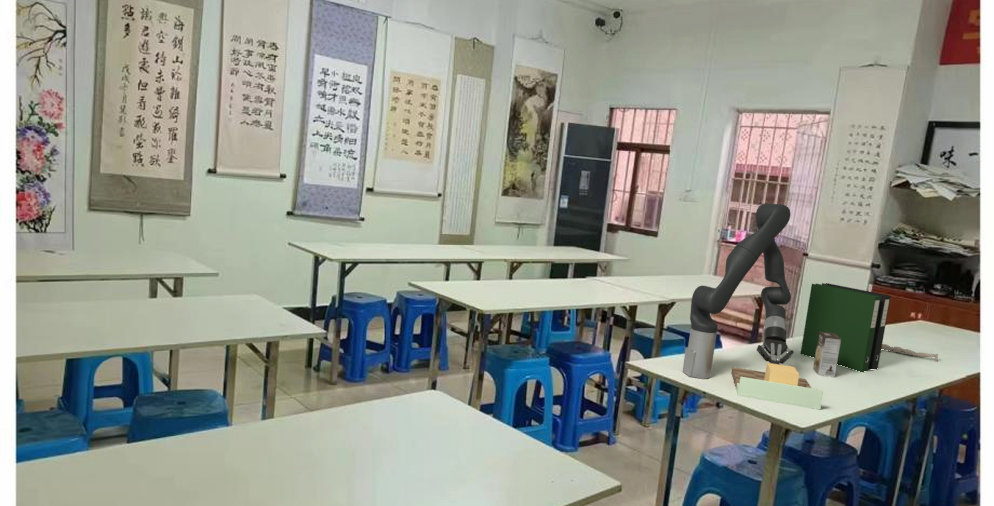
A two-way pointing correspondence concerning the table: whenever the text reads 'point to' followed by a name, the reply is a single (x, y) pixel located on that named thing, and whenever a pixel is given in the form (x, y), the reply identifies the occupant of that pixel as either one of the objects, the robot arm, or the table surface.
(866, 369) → the binder
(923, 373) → the table surface
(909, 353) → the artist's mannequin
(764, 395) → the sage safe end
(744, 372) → the board
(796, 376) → the ochre block
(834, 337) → the coffee box
